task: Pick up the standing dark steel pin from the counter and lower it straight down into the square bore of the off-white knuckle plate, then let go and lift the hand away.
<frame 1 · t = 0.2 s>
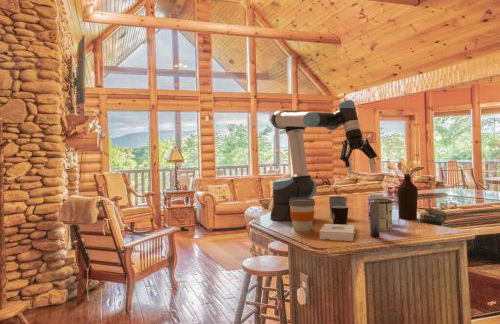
hand: (362, 172, 178), 28 cm above the countertop, tool tilted 15°, fingers open, 13 cm apart
drinking glass: (338, 218, 218), on the countertop
coffee can: (381, 229, 184), on the countertop
steel pin: (375, 236, 167), on the countertop
reusable coffee cup: (302, 230, 185), on the countertop
olive oil: (407, 218, 212), on the countertop
supplement can: (376, 222, 203), on the countertop
coffee mug: (339, 226, 193), on the countertop
knuckle plate: (337, 235, 170), on the countertop
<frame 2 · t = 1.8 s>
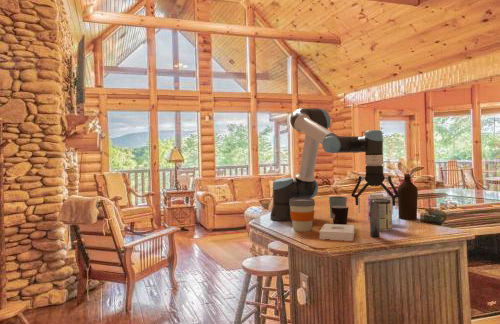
hand: (375, 213, 167), 11 cm above the countertop, tool pointing down, fingers open, 13 cm apart
nothing on the countertop moved.
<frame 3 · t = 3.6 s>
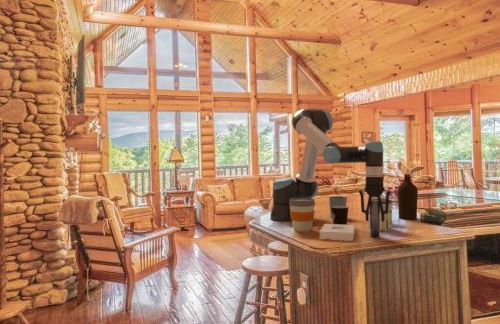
hand: (374, 228, 167), 4 cm above the countertop, tool pointing down, fingers closed on steel pin, 4 cm apart
steel pin: (375, 236, 167), on the countertop, touching gripper
everything else where it was.
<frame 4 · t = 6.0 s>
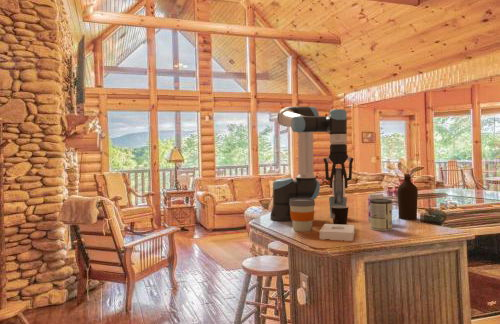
hand: (338, 195, 170), 18 cm above the countertop, tool pointing down, fingers closed on steel pin, 4 cm apart
steel pin: (338, 203, 170), point 15 cm above the countertop, touching gripper
everything else where it was.
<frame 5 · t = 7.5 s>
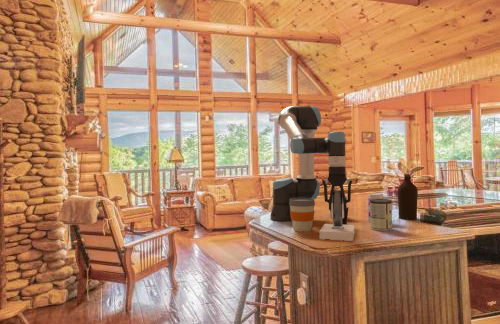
hand: (337, 217, 170), 8 cm above the countertop, tool pointing down, fingers closed on steel pin, 4 cm apart
steel pin: (337, 225, 170), point 5 cm above the countertop, touching gripper
everything else where it was.
when the fingers open (5 cm above the countertop, at t = 8.7 s): steel pin stays where it is, resting in knuckle plate.
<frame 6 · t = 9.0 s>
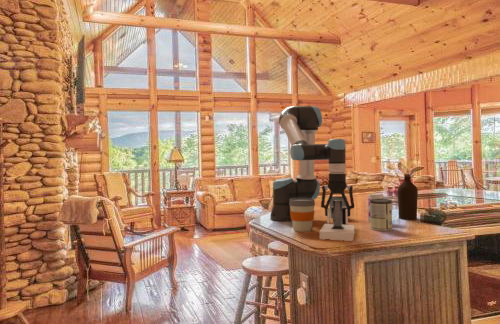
hand: (337, 223, 170), 6 cm above the countertop, tool pointing down, fingers open, 7 cm apart
steel pin: (337, 235, 170), resting in knuckle plate
everything else where it was.
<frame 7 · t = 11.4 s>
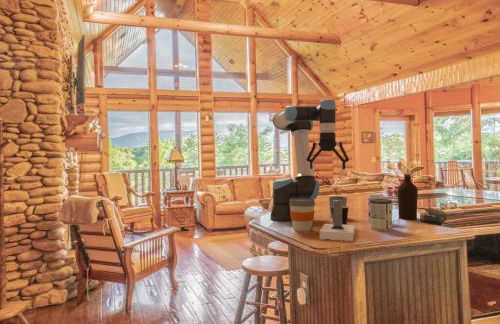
hand: (327, 176, 182), 26 cm above the countertop, tool pointing down, fingers open, 13 cm apart
nothing on the countertop moved.
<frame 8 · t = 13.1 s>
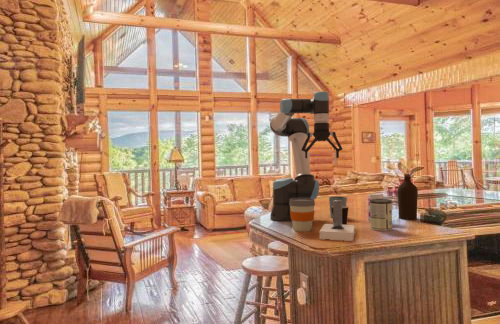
hand: (322, 164, 189), 32 cm above the countertop, tool pointing down, fingers open, 13 cm apart
nothing on the countertop moved.
at the end: steel pin 0.0 cm off-centre on the knuckle plate, point 0.0 cm above the knuckle plate's base; steel pin tilted 0°; the gripper is holding nothing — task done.
